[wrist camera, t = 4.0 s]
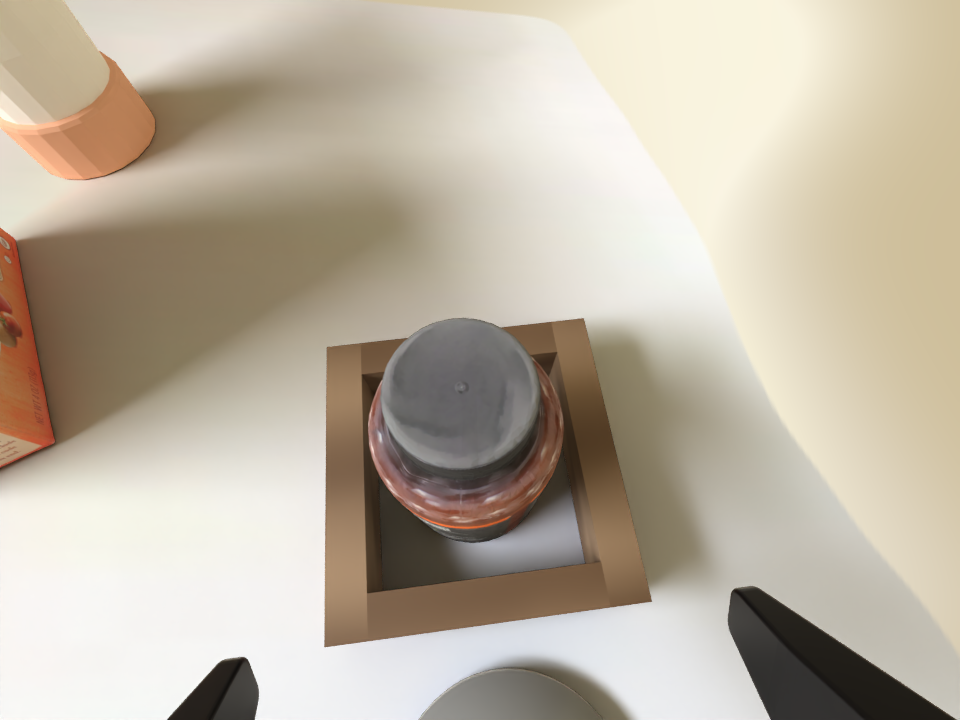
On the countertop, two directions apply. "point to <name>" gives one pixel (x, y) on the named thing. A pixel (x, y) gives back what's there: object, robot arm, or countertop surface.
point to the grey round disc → (510, 698)
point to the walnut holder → (488, 600)
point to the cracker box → (19, 366)
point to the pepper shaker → (66, 94)
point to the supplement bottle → (465, 429)
